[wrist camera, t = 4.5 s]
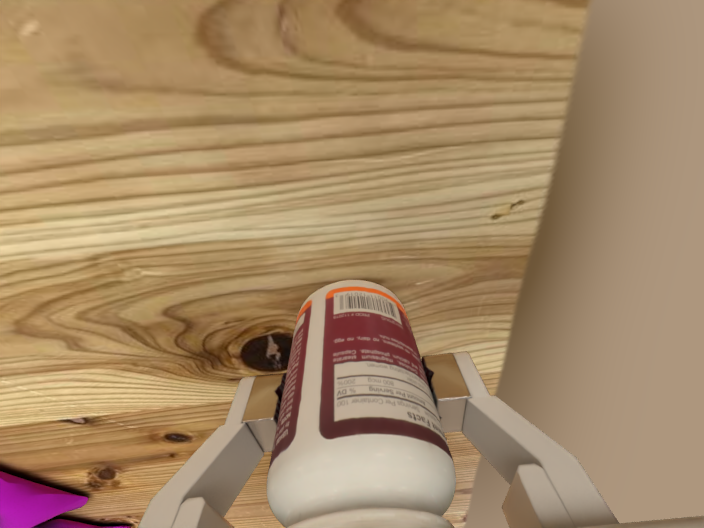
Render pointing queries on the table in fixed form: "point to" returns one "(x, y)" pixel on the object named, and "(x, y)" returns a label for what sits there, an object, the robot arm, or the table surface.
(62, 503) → the cloth
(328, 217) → the table surface
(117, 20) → the table surface
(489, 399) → the robot arm
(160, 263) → the table surface
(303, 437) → the pill bottle
